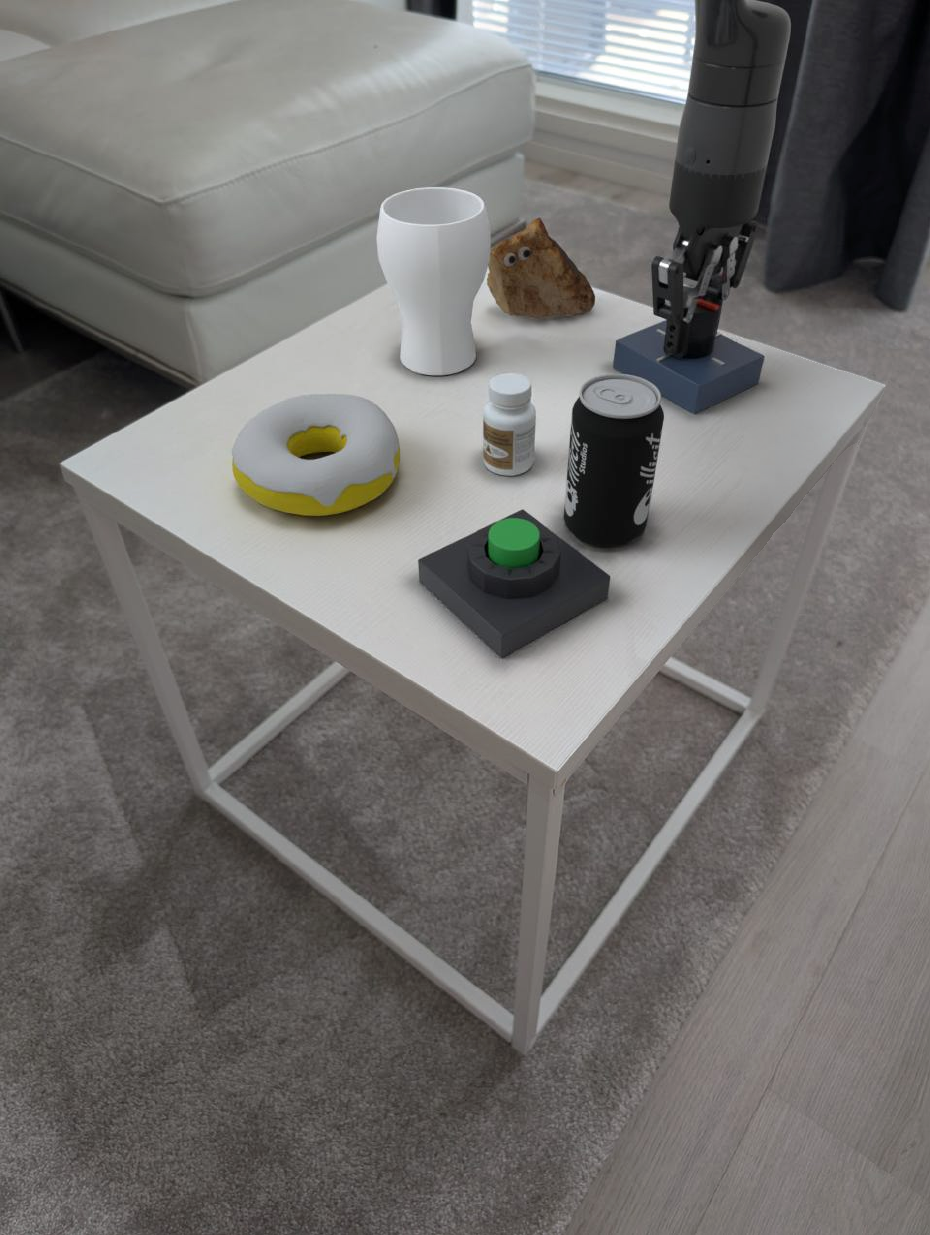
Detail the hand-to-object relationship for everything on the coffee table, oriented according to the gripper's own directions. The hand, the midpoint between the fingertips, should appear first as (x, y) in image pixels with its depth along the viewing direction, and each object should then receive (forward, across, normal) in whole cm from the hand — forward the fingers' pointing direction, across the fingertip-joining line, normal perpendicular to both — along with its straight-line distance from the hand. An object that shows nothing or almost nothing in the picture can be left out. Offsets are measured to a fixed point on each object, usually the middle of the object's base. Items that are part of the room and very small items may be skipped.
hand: (689, 344), depth 87 cm
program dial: (0, 0, 0) cm, 0 cm away
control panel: (+3, 0, 0) cm, 3 cm away
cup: (+3, -14, +21) cm, 25 cm away
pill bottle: (+3, -23, +3) cm, 23 cm away
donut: (+3, -35, +13) cm, 38 cm away
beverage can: (+3, -24, -9) cm, 26 cm away
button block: (+3, -35, -8) cm, 36 cm away
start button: (0, -35, -8) cm, 36 cm away
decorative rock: (+4, 0, +19) cm, 20 cm away
